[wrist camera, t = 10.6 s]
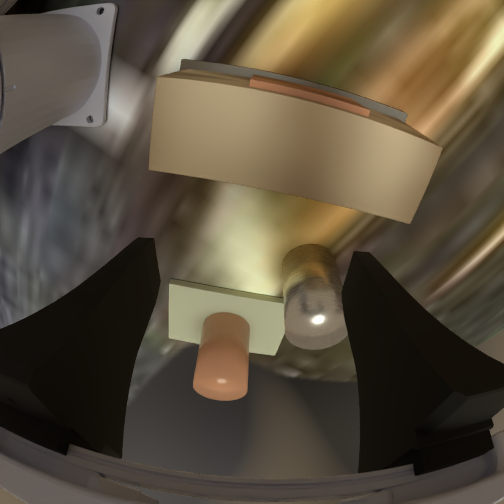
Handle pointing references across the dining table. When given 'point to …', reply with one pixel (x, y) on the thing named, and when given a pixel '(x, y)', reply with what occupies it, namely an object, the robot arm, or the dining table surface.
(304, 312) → the grey shiny short cylinder
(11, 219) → the dining table surface
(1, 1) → the paper bowls
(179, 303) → the mat
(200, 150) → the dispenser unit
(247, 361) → the terracotta cap
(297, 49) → the dining table surface
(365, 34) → the dining table surface
